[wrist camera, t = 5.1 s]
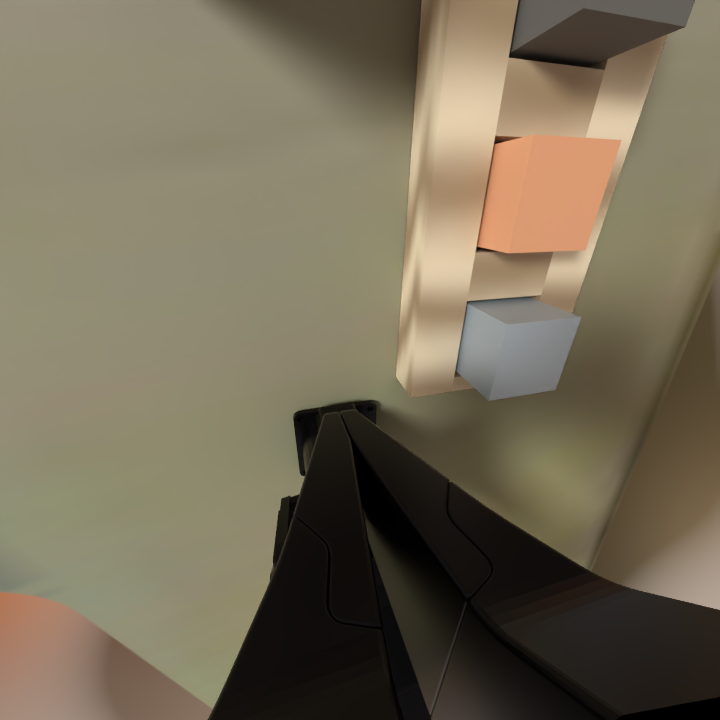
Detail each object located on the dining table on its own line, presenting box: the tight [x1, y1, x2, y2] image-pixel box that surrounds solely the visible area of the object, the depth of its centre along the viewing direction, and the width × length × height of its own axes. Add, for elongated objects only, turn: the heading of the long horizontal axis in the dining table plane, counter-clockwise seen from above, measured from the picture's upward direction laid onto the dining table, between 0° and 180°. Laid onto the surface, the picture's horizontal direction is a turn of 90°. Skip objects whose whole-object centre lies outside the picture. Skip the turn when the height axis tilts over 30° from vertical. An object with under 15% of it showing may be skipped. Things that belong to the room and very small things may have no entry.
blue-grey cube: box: [455, 296, 581, 401], centre depth 20 cm, size 5×5×5 cm
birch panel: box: [396, 0, 667, 398], centre depth 19 cm, size 25×12×3 cm, turn 0°
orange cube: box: [477, 135, 622, 253], centre depth 17 cm, size 5×5×5 cm
